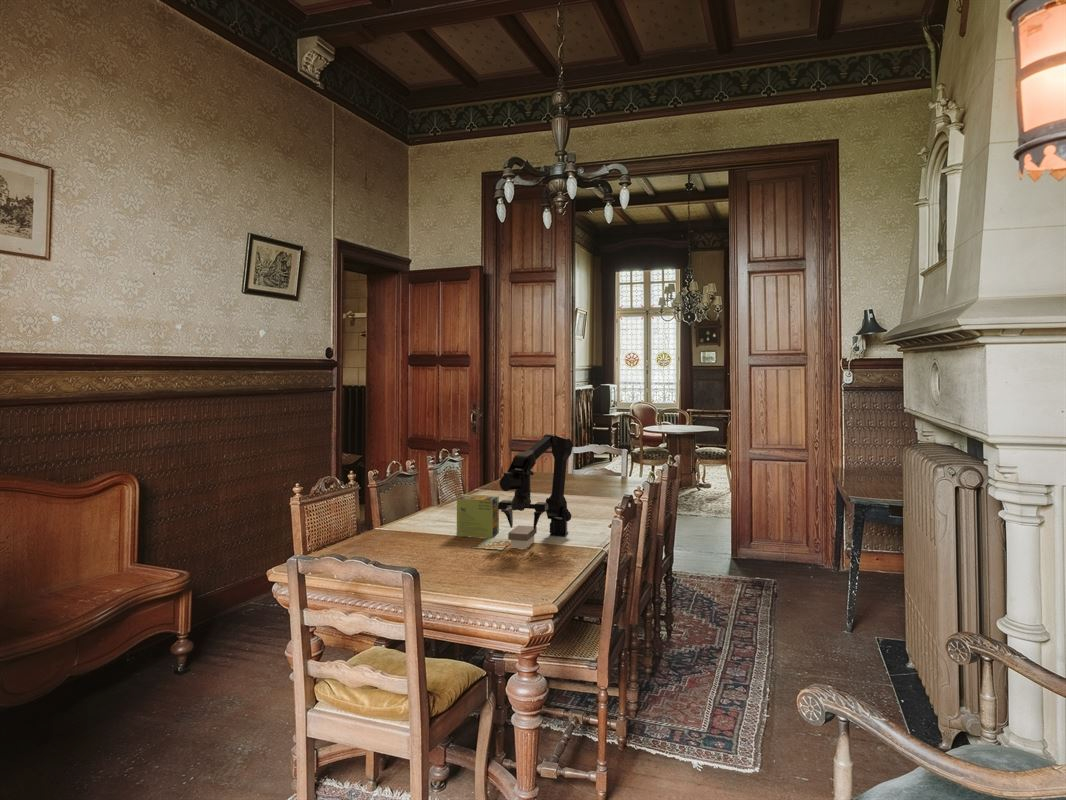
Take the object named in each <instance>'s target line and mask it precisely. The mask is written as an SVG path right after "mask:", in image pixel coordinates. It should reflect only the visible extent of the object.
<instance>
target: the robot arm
mask: <svg viewBox="0 0 1066 800" xmlns="http://www.w3.org/2000/svg"><path fill="white" fill-rule="evenodd" d="M573 446H574V445H573V441H572V440H571V438H569V437H568V438H566V437H565V438H564V437H560V436H558V435H555V434H551V433H545V434H544V435H543V437H541V439H539V440H538V441H537V442H536V443H535V444H533V445H532V446H531V447H530V448H529V449H528V450H526V451H525V450H524V451H522V452H519V453H517V454H515V455H514V457H513V459H512V461H511V463H510V465H509V468H508V469H507V472H503V476H501V478H500V480H499V487H500V489H501V490H502V491H504V492H509V491H514V496H513V498H512V499H511V500H509V499H501V500H499V503H498V509H499V511H501V513H503V514H505V516H506V518H507V522H508V524H509V527H510V528H513V524H514V523H513V522H514V521H513V520H514V518H513V511H521V512H522V511H524V510H525V509H527V510H528V509H529V510H530V509H531V510H534V512H533V515H534V516H533V526H534V529H535V528H536V527H537V525H538V522H539V519H540V517H541V515H542V514H543V513H545V514H546V517H547V519H548V520H550V522H549V536H554V537H555V536H556V537H558V536H559V537H566V536H567V535H568V534H569V531H568V522H569V521H571V520H572V513H571V512H570V511H569V510H568V502H567V500H566V498H565V485H566V474H567V461H568V460H569V458H570V457H571V455H572V452H573ZM550 448H551V454H552V456H553V458H554V464H553V475H552V486H551V487H552V488H551V494H550V496H549V497H547V498H546V499H545V501H537V502H536V503H532V500H531V492H532V489H531V476H534V475H535V473H534V471H532V469H533V468H534V467H535V465H536V462H537V460H538V458H540V457H541V456H542V455H544V453H546V451H548V450H550Z"/></svg>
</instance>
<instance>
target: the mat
mask: <svg viewBox="0 0 1066 800" xmlns="http://www.w3.org/2000/svg"><path fill="white" fill-rule="evenodd" d="M487 540H488V541H487ZM490 541H491V542H490ZM495 541H496V542H499V541H503V542H501V543H500V544H501V545H502V544H503V543H504V542H505V541H509V542H510V543H511V540H508V539H507V538H498V537H497V538H495V537H493V538H485V539H484V540H483V541H482V542H481V543H479V544H478V545H477V546H480V544H481V545H482V546H483V545H484V544H485V545H486V546H487V545H488V544H489V545H492V544H493V543H492V542H495ZM489 542H490V543H489ZM494 544H495V545H496V544H497V543H494ZM494 547H497V546H494ZM498 547H505V546H498ZM498 547H497V548H493V547H491V548H489V547H486V548H485V547H482V548H485V549H488V548H489V549H498V550H503V549H504V548H498ZM474 548H476V546H475V547H474ZM478 548H481V547H478ZM485 549H484V550H485ZM498 550H497V551H498ZM504 550H505V549H504ZM504 550H503V551H504Z"/></svg>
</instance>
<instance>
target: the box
mask: <svg viewBox="0 0 1066 800" xmlns="http://www.w3.org/2000/svg"><path fill="white" fill-rule="evenodd" d="M533 542H534V543H535V535H534V536H532V537H531V538H530V539H529V540H528V541H521V540H511V544H510V549H511V548H523V549H522V550H524V549H526V548H527V547H528V548H529V547H531V546H532V545H533V544H534V543H533ZM532 543H533V544H532ZM531 544H532V545H531ZM530 545H531V546H530ZM528 548H527V549H528ZM527 549H526V550H527Z"/></svg>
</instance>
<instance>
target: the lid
mask: <svg viewBox="0 0 1066 800" xmlns="http://www.w3.org/2000/svg"><path fill="white" fill-rule="evenodd" d="M537 530H538V529H537V526H536V528H535V529H534V525H517V526H515V528H513V529H511V530H510V531H509V532H508V537H507V538H508V540H521V541H528V540H529V539H530V538H531V537H532V536H534V537H535V535H536V534H537V533H538V532H537Z"/></svg>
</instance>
